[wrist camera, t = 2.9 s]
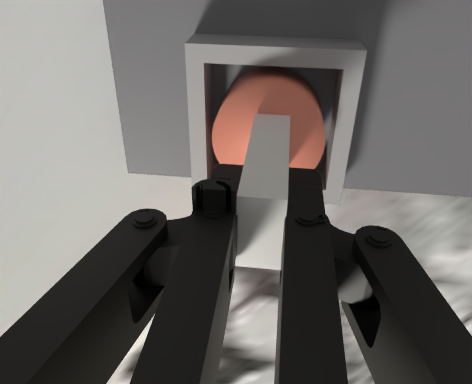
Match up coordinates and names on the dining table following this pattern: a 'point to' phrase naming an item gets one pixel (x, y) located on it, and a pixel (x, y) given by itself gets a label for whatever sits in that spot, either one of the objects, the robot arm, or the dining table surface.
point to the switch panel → (315, 72)
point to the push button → (270, 102)
